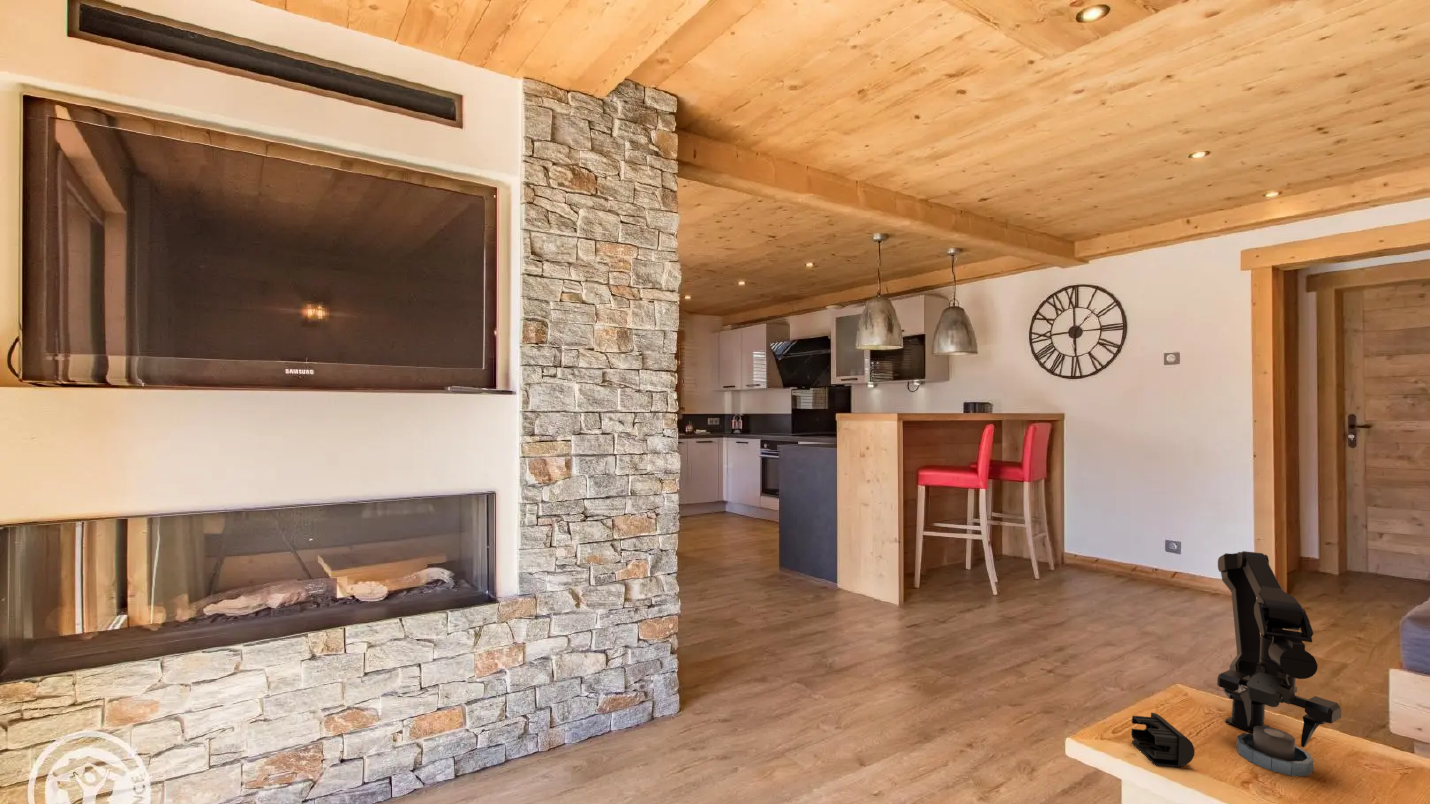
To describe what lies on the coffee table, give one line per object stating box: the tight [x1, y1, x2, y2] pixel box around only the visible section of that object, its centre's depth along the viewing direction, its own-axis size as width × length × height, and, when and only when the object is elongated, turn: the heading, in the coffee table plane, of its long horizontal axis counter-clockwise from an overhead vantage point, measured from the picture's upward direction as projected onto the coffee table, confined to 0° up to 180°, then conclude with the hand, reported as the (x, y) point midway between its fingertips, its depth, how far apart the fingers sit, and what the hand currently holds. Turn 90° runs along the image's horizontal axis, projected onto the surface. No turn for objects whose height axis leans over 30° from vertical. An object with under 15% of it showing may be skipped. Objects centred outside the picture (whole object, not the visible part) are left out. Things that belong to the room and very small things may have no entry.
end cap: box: [1130, 712, 1195, 769], centre depth 134 cm, size 10×7×7 cm
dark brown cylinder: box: [1253, 726, 1296, 761], centre depth 134 cm, size 6×6×5 cm
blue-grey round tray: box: [1236, 732, 1314, 777], centre depth 134 cm, size 12×12×2 cm
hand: (1274, 735), depth 134 cm, fingers open, 9 cm apart
